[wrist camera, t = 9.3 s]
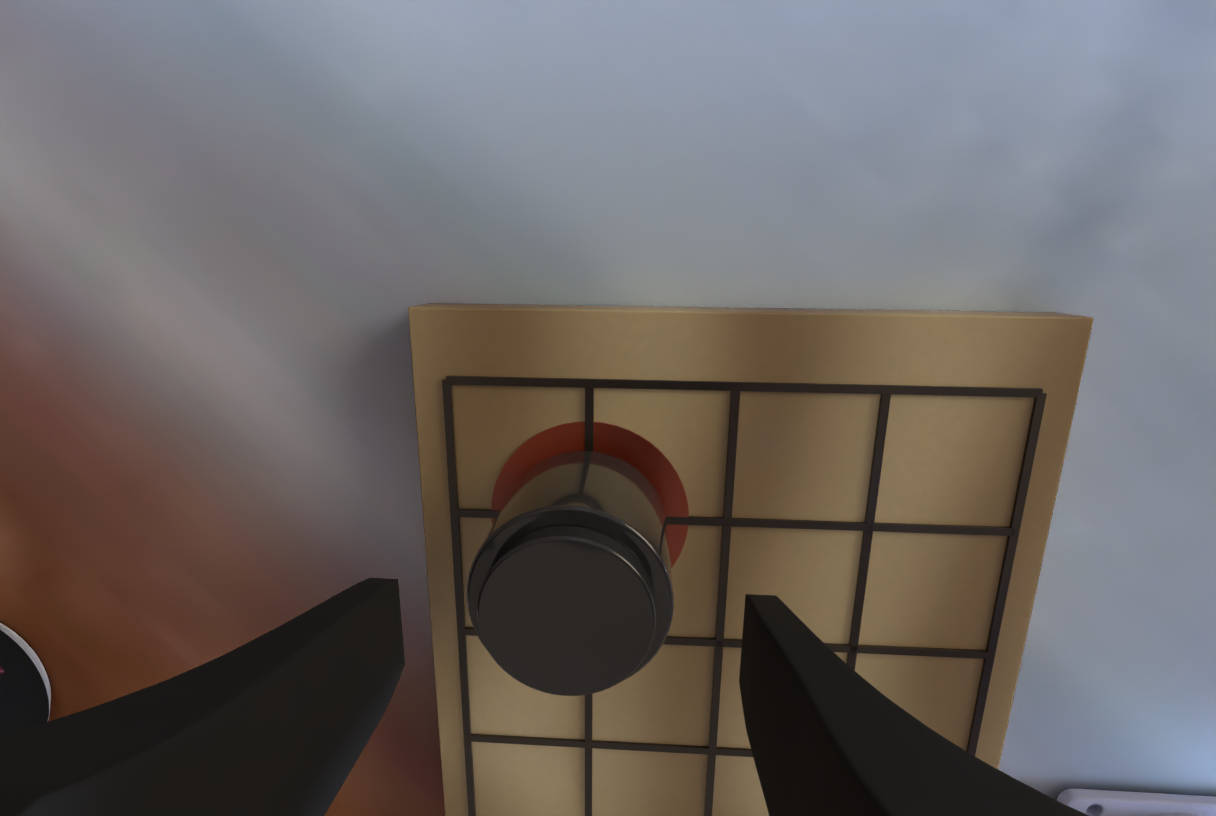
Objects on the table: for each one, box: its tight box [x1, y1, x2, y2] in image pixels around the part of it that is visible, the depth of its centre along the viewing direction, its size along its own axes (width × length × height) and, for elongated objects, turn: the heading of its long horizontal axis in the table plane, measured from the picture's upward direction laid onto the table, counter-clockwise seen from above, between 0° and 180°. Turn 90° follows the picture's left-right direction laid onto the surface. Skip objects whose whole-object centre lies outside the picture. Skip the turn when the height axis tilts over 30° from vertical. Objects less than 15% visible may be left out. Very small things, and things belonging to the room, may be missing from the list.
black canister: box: [467, 451, 674, 696], centre depth 15 cm, size 5×5×5 cm
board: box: [408, 303, 1094, 816], centre depth 19 cm, size 18×20×2 cm
